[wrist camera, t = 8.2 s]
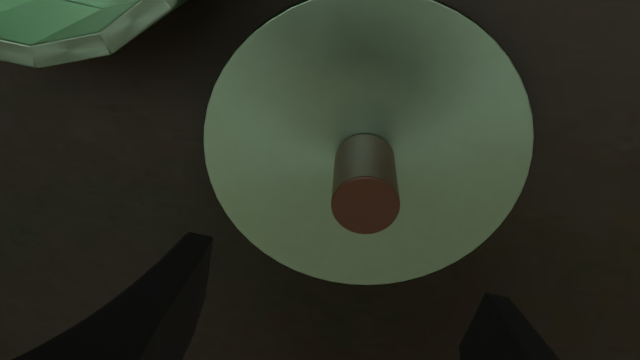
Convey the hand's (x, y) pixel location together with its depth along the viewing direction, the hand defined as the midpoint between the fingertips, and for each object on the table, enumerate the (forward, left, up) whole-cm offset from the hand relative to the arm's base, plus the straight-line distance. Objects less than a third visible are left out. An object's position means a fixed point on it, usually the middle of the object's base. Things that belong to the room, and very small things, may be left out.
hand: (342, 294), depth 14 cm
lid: (+1, 0, -9) cm, 9 cm away
